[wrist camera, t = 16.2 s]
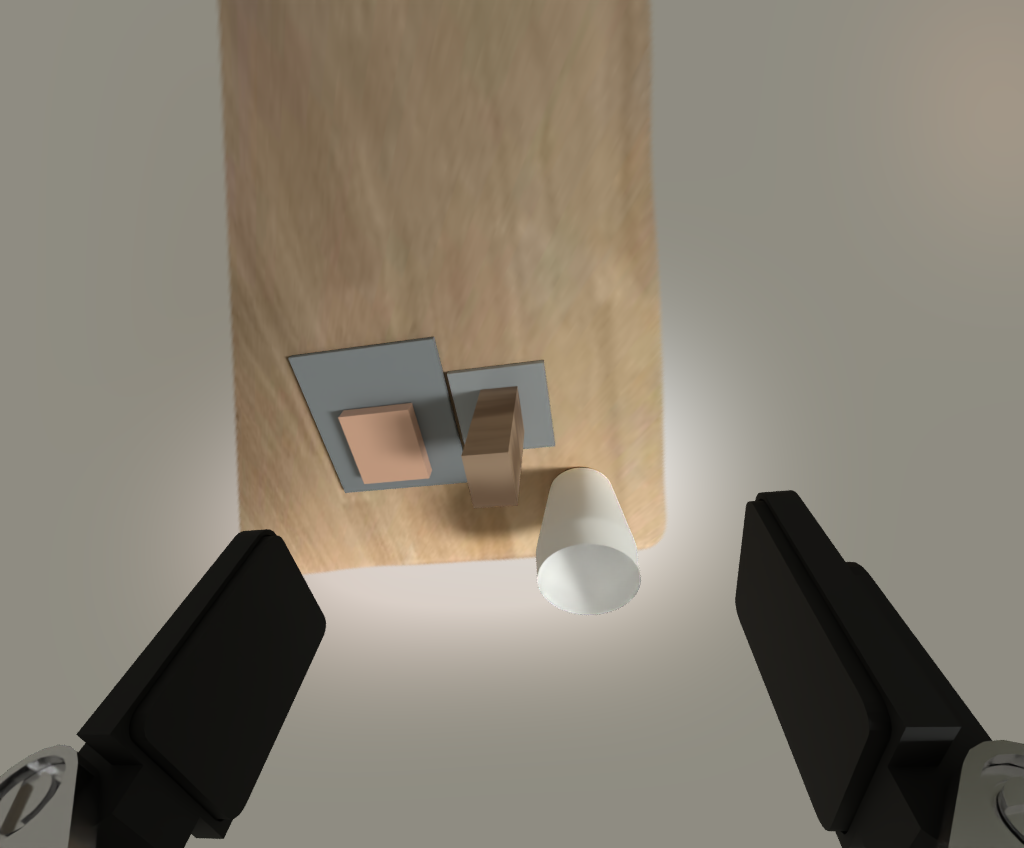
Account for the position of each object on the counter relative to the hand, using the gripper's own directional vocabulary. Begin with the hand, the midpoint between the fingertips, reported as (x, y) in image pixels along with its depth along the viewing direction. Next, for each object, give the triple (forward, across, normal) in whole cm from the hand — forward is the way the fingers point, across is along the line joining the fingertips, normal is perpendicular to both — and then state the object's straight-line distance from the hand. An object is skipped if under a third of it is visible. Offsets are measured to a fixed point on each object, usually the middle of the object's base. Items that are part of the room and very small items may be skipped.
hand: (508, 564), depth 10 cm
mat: (+33, +17, +14) cm, 40 cm away
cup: (+33, -1, +25) cm, 42 cm away
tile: (+32, +17, +12) cm, 38 cm away
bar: (+33, +5, +14) cm, 36 cm away
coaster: (+33, +5, +14) cm, 36 cm away
